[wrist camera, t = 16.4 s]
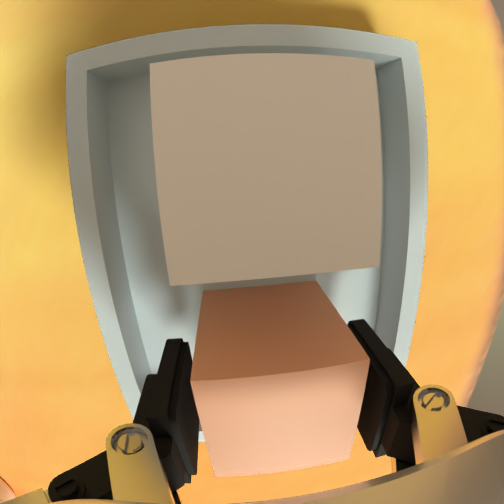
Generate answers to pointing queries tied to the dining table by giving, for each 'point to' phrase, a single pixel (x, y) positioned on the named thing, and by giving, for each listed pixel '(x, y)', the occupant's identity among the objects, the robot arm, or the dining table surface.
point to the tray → (146, 197)
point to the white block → (266, 165)
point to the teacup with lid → (5, 492)
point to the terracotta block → (276, 379)
